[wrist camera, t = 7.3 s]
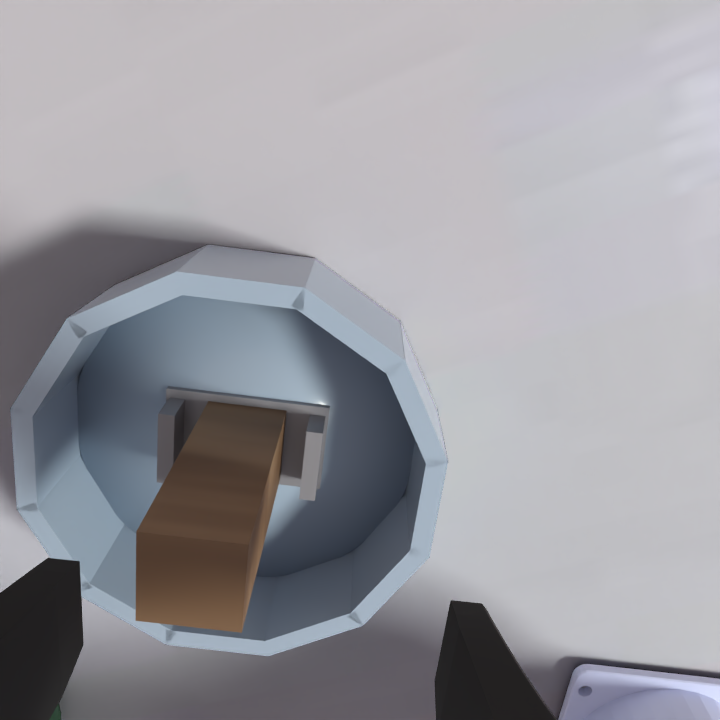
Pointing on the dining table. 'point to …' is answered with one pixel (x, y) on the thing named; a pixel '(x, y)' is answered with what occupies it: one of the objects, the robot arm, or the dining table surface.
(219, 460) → the long wooden beam
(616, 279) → the dining table surface
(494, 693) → the robot arm
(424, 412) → the pale blue round tray
